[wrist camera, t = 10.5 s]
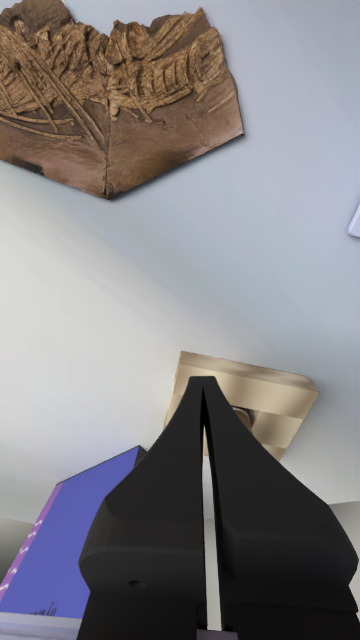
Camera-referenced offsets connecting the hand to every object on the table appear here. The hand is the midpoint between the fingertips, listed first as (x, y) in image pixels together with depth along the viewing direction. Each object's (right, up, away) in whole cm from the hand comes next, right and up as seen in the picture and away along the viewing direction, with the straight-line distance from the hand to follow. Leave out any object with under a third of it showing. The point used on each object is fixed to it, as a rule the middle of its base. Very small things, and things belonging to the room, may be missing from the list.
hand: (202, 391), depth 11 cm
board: (+5, -6, +14) cm, 16 cm away
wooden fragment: (-9, +19, +5) cm, 22 cm away
